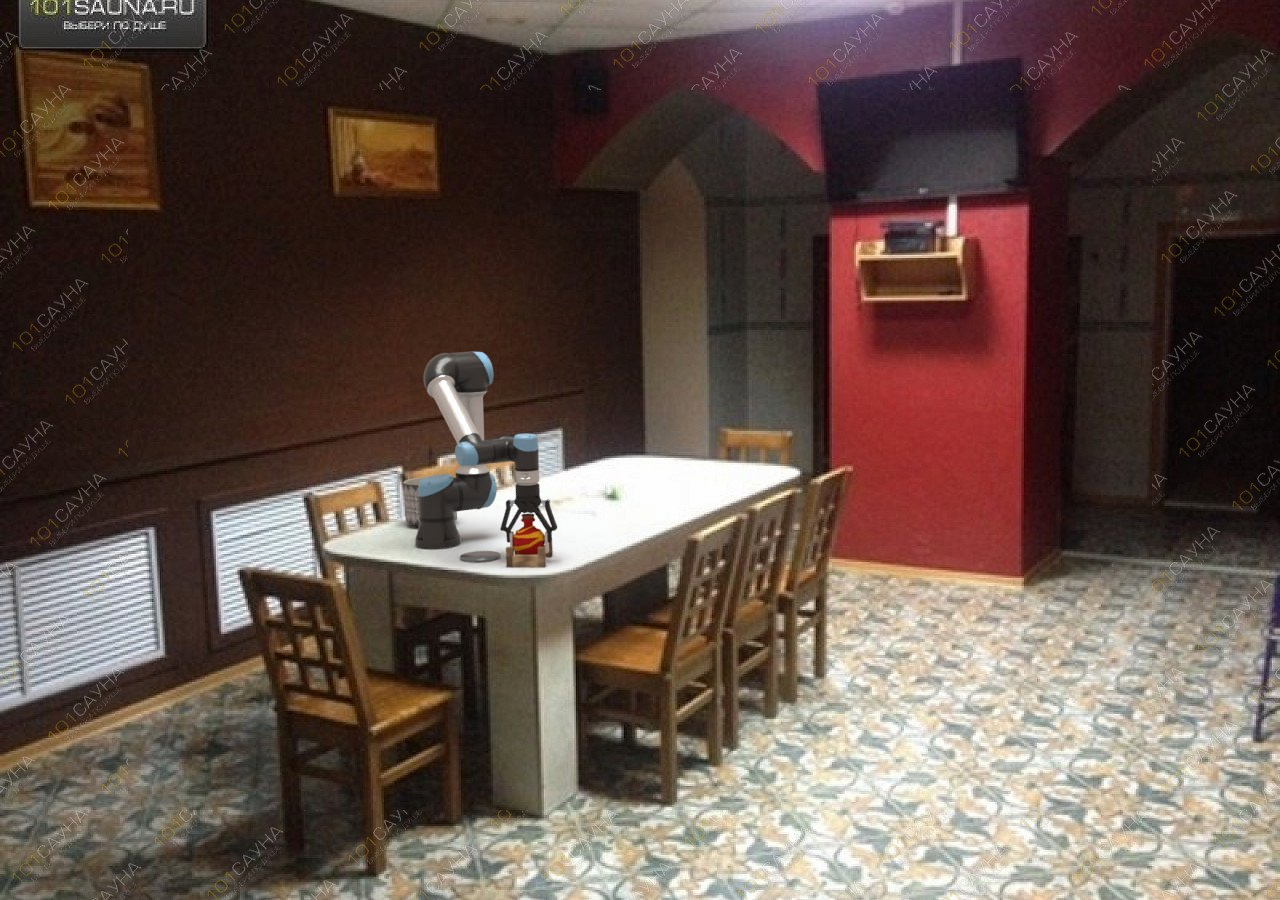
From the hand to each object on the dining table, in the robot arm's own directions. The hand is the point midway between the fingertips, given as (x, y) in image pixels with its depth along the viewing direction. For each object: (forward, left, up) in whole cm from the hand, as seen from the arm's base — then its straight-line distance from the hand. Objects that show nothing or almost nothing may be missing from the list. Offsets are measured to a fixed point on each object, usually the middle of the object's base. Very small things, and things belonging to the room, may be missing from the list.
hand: (529, 552), depth 369 cm
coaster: (-17, +5, -3) cm, 18 cm away
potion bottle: (0, 0, -3) cm, 3 cm away
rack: (0, 0, -3) cm, 3 cm away
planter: (-47, +59, -3) cm, 75 cm away
